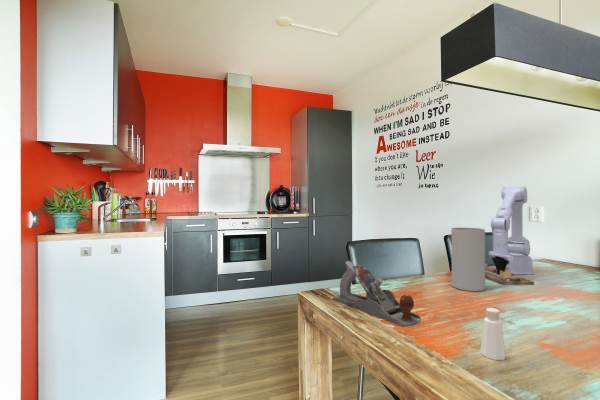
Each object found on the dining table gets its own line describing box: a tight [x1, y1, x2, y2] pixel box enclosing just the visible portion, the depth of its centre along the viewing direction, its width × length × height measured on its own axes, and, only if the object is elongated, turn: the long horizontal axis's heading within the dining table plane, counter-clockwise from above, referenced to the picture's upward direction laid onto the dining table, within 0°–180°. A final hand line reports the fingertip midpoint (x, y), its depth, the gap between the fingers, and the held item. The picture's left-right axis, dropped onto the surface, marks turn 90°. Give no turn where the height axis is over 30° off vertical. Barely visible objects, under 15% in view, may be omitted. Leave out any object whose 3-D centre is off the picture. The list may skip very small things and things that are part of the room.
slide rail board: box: [485, 270, 535, 286], centre depth 150 cm, size 14×22×1 cm, turn 0°
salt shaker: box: [479, 307, 507, 361], centre depth 77 cm, size 5×5×11 cm
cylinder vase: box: [451, 227, 486, 292], centre depth 135 cm, size 12×12×25 cm
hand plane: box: [332, 260, 422, 328], centre depth 109 cm, size 9×33×15 cm, turn 35°
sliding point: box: [500, 269, 524, 280], centre depth 141 cm, size 9×2×4 cm, turn 90°
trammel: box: [485, 263, 509, 282], centre depth 150 cm, size 9×21×4 cm, turn 0°
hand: (500, 274), depth 143 cm, fingers closed
